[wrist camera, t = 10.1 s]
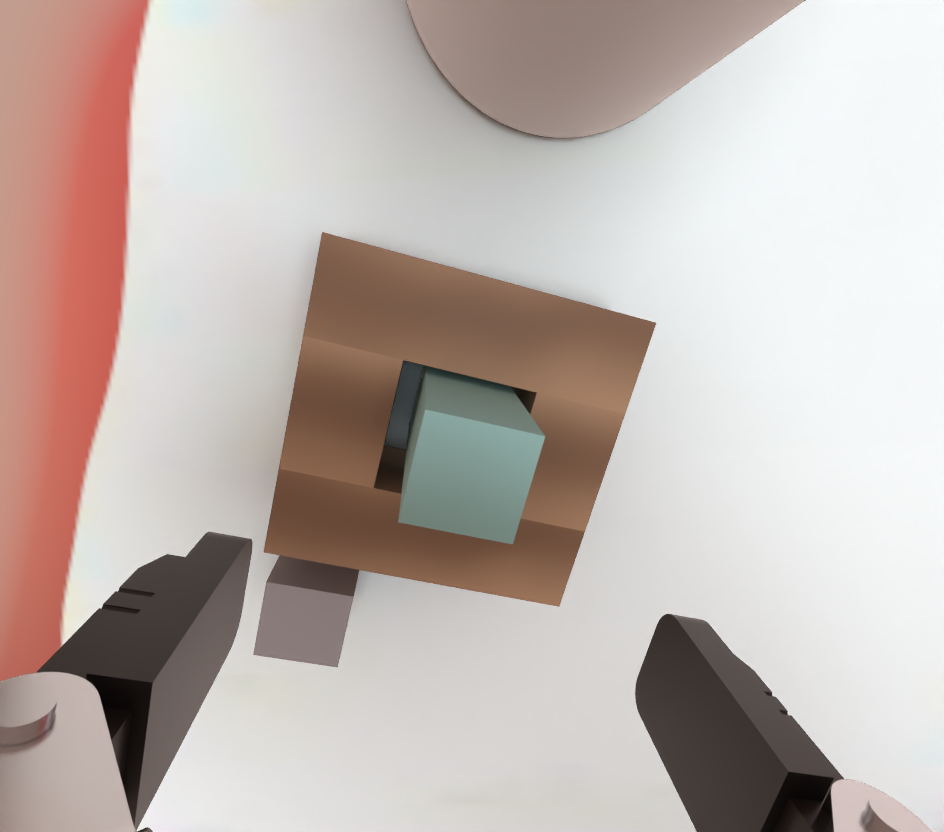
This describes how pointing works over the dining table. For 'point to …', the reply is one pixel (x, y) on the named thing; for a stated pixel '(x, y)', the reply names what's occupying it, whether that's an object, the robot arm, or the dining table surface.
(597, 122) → the cylinder vase
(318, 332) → the socket block
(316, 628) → the short pin
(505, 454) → the long pin
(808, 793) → the robot arm
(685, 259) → the dining table surface
